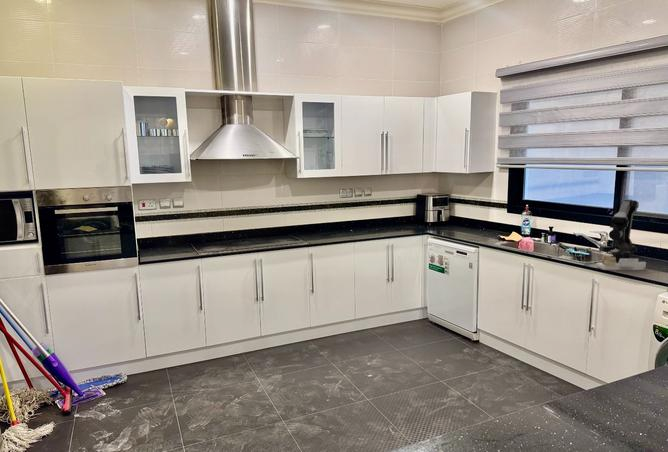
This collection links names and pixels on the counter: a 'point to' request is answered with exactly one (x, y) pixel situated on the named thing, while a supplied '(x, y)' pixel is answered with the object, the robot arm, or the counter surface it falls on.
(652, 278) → the counter surface
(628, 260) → the trap channel
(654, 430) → the counter surface
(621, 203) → the robot arm
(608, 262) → the wooden block
